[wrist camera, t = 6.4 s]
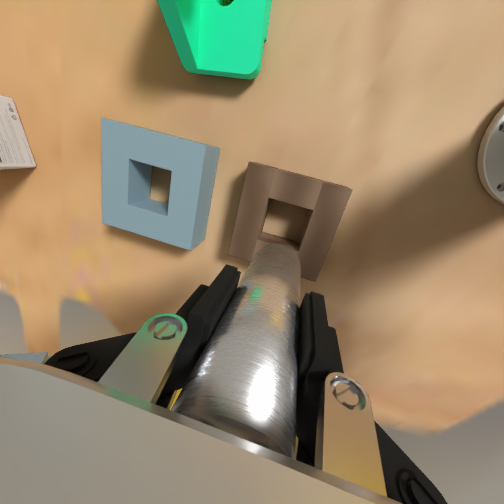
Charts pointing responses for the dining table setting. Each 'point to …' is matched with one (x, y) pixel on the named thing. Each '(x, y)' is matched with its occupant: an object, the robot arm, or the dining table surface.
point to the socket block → (139, 183)
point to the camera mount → (218, 35)
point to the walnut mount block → (297, 193)
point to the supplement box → (13, 138)
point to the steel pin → (253, 357)
